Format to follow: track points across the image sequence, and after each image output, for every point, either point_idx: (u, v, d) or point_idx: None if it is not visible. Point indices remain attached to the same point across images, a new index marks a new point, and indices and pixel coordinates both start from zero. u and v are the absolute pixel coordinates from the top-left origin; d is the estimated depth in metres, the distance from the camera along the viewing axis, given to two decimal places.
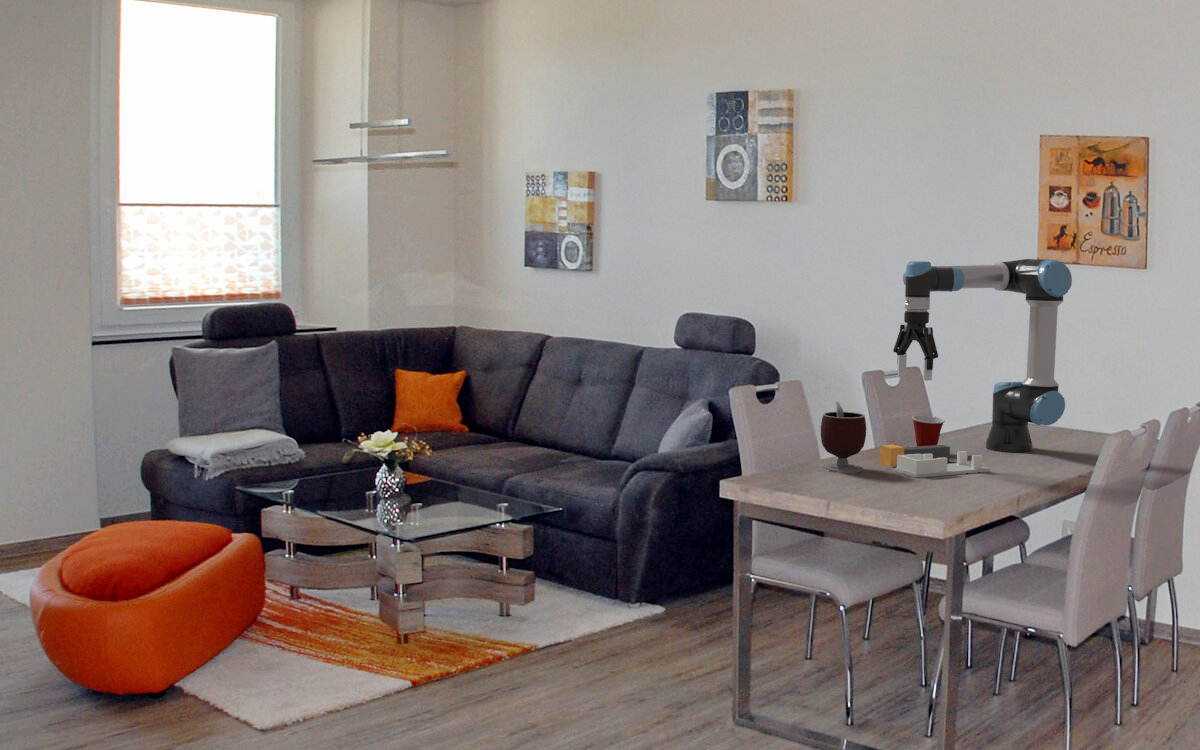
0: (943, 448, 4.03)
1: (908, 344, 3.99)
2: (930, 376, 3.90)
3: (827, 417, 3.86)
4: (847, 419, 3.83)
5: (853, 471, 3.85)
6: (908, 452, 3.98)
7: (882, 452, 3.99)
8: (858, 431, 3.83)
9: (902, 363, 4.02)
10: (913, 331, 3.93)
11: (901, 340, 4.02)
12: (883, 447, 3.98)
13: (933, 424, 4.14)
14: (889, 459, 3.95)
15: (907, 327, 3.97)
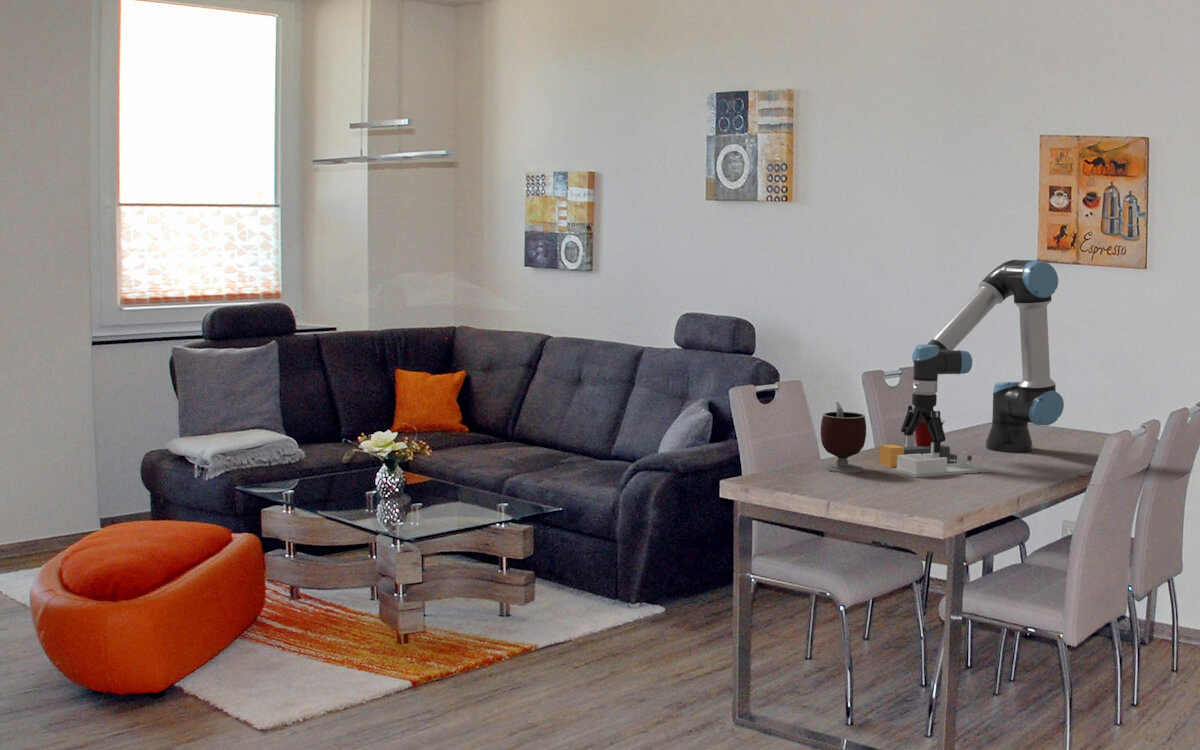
0: (943, 448, 4.03)
1: (915, 425, 4.05)
2: None
3: (827, 417, 3.86)
4: (847, 419, 3.83)
5: (853, 471, 3.85)
6: (908, 452, 3.98)
7: (882, 452, 3.99)
8: (858, 431, 3.83)
9: (909, 443, 4.08)
10: (921, 414, 3.99)
11: (909, 421, 4.08)
12: (883, 447, 3.98)
13: None
14: (889, 459, 3.95)
15: (915, 409, 4.03)
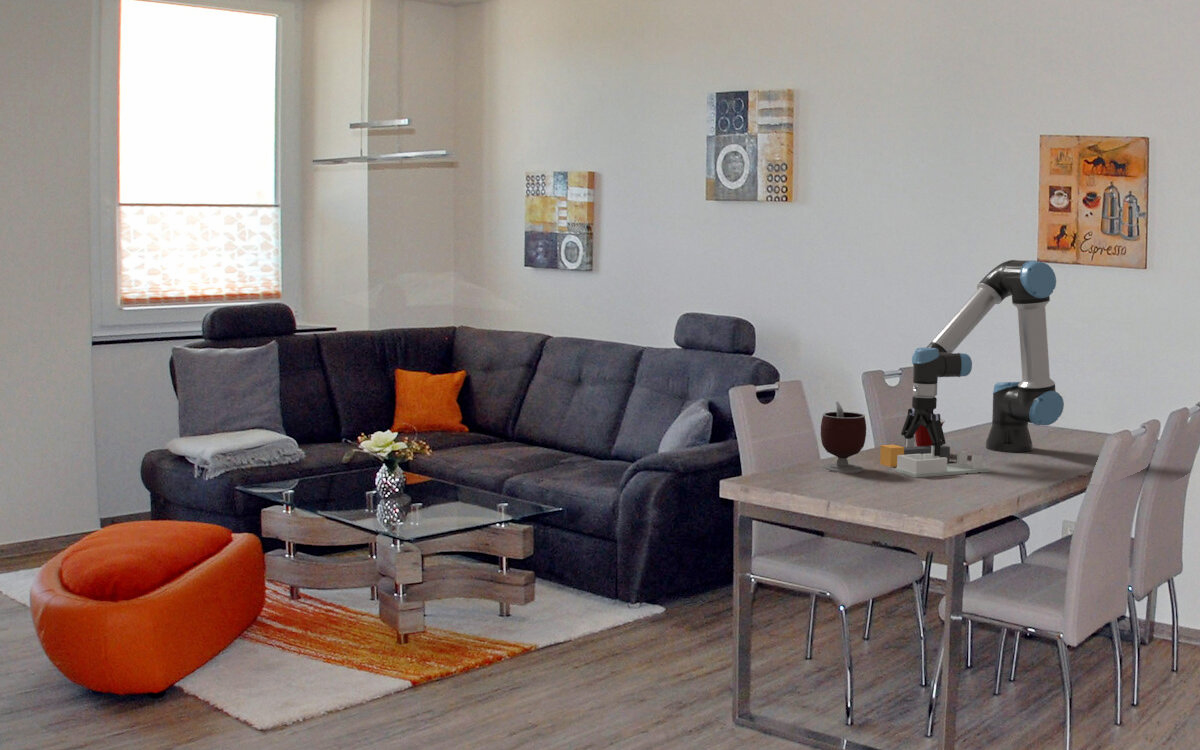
0: (943, 448, 4.03)
1: (915, 428, 4.05)
2: None
3: (827, 417, 3.86)
4: (847, 419, 3.83)
5: (853, 471, 3.85)
6: (908, 452, 3.98)
7: (882, 452, 3.99)
8: (858, 431, 3.83)
9: (910, 446, 4.08)
10: (921, 417, 3.99)
11: (909, 424, 4.08)
12: (883, 447, 3.98)
13: None
14: (890, 459, 3.95)
15: (915, 412, 4.03)
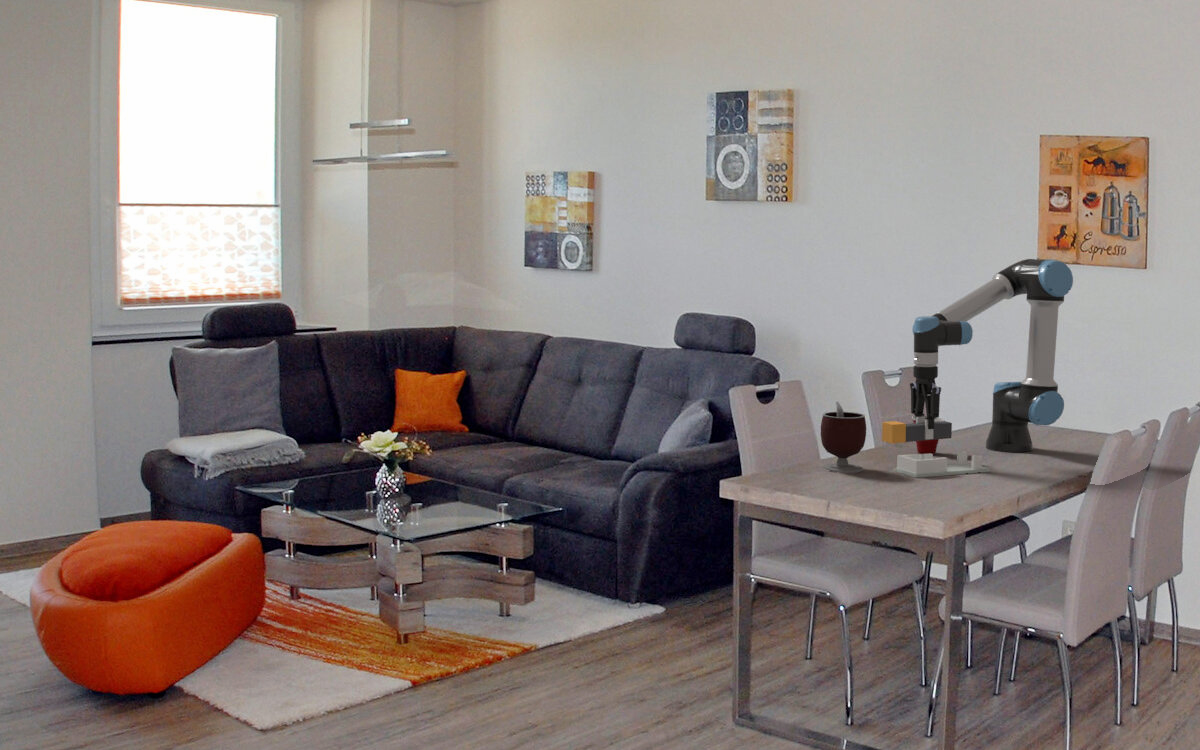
0: (945, 424, 4.02)
1: (922, 401, 4.02)
2: (931, 435, 3.99)
3: (827, 417, 3.86)
4: (847, 419, 3.83)
5: (853, 471, 3.85)
6: (910, 428, 3.97)
7: (884, 429, 3.98)
8: (858, 431, 3.83)
9: None
10: (922, 386, 3.98)
11: (915, 399, 4.04)
12: (885, 424, 3.97)
13: None
14: (891, 436, 3.94)
15: (916, 381, 4.02)
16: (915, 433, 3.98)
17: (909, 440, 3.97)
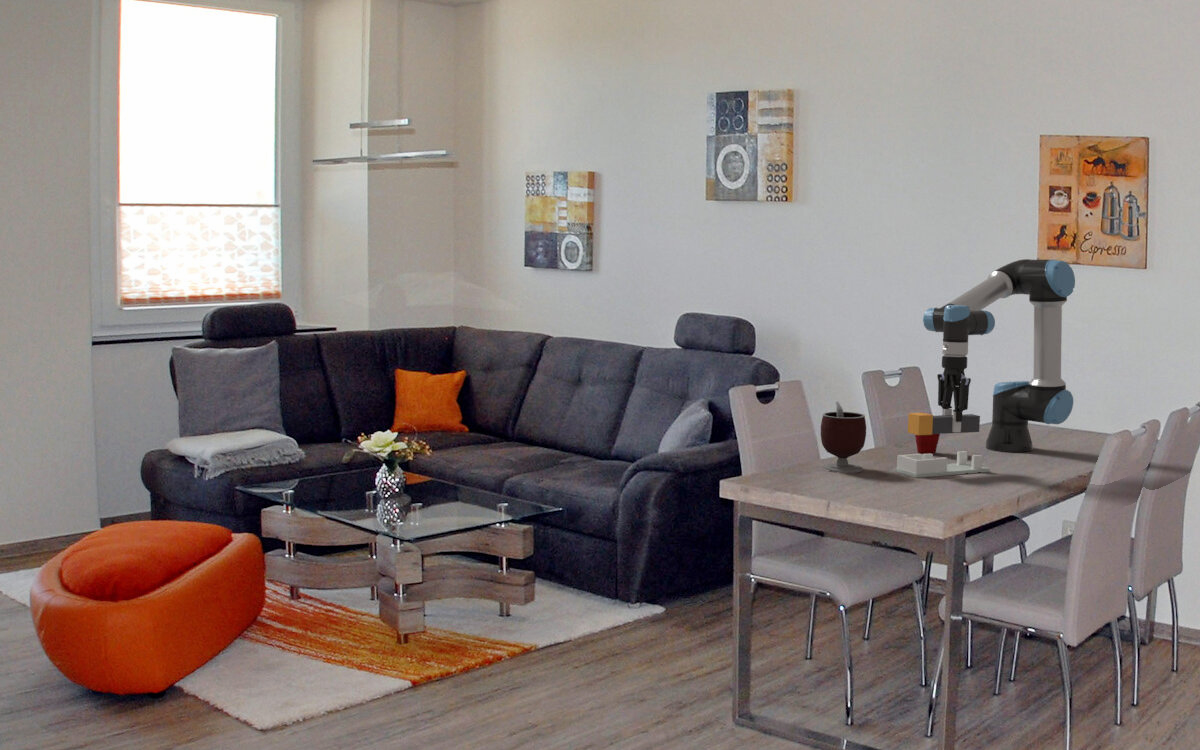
0: (973, 417, 3.88)
1: (950, 393, 3.88)
2: (959, 428, 3.85)
3: (827, 417, 3.86)
4: (847, 419, 3.83)
5: (853, 471, 3.85)
6: (937, 420, 3.83)
7: (910, 420, 3.84)
8: (858, 431, 3.83)
9: None
10: (951, 377, 3.84)
11: (943, 390, 3.90)
12: (911, 415, 3.83)
13: None
14: (918, 427, 3.80)
15: (944, 372, 3.88)
16: (942, 425, 3.84)
17: (936, 432, 3.83)
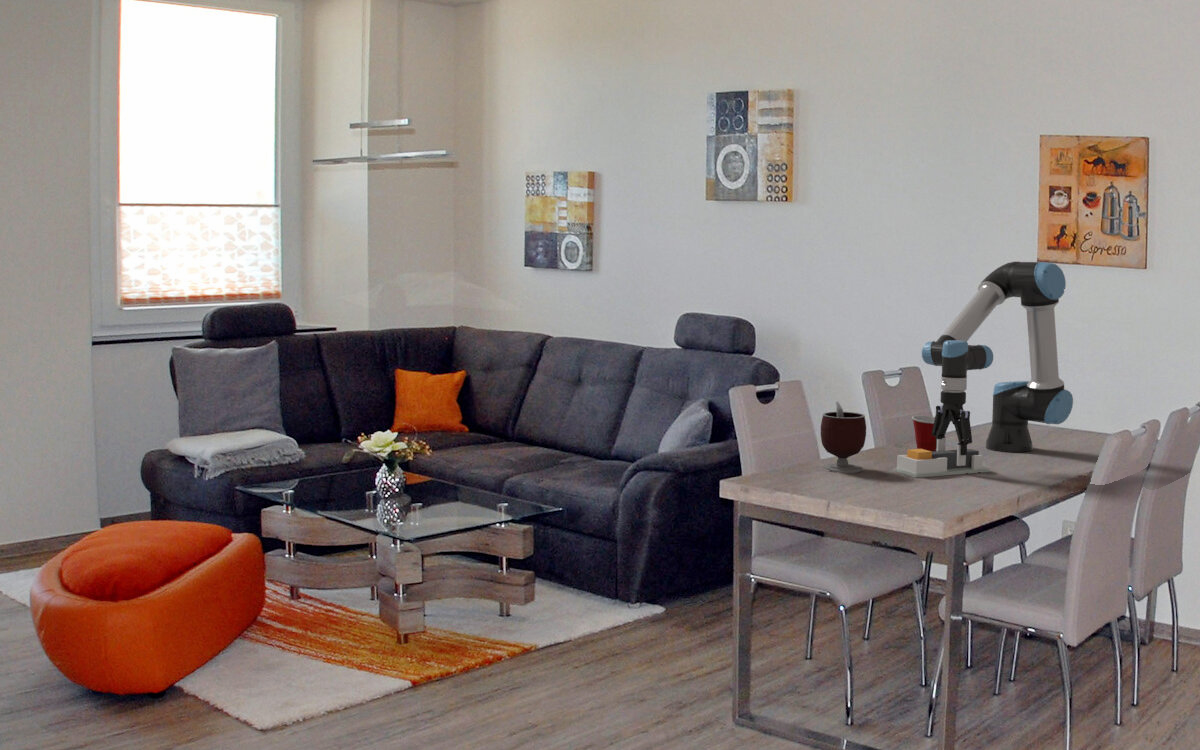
0: (972, 452, 3.89)
1: (945, 426, 3.91)
2: (964, 461, 3.84)
3: (827, 417, 3.86)
4: (847, 419, 3.83)
5: (853, 471, 3.85)
6: (936, 456, 3.84)
7: (909, 456, 3.85)
8: (858, 431, 3.83)
9: (941, 447, 3.93)
10: (950, 412, 3.85)
11: (938, 422, 3.93)
12: (910, 451, 3.84)
13: (933, 424, 4.14)
14: None
15: (943, 407, 3.89)
16: None
17: None
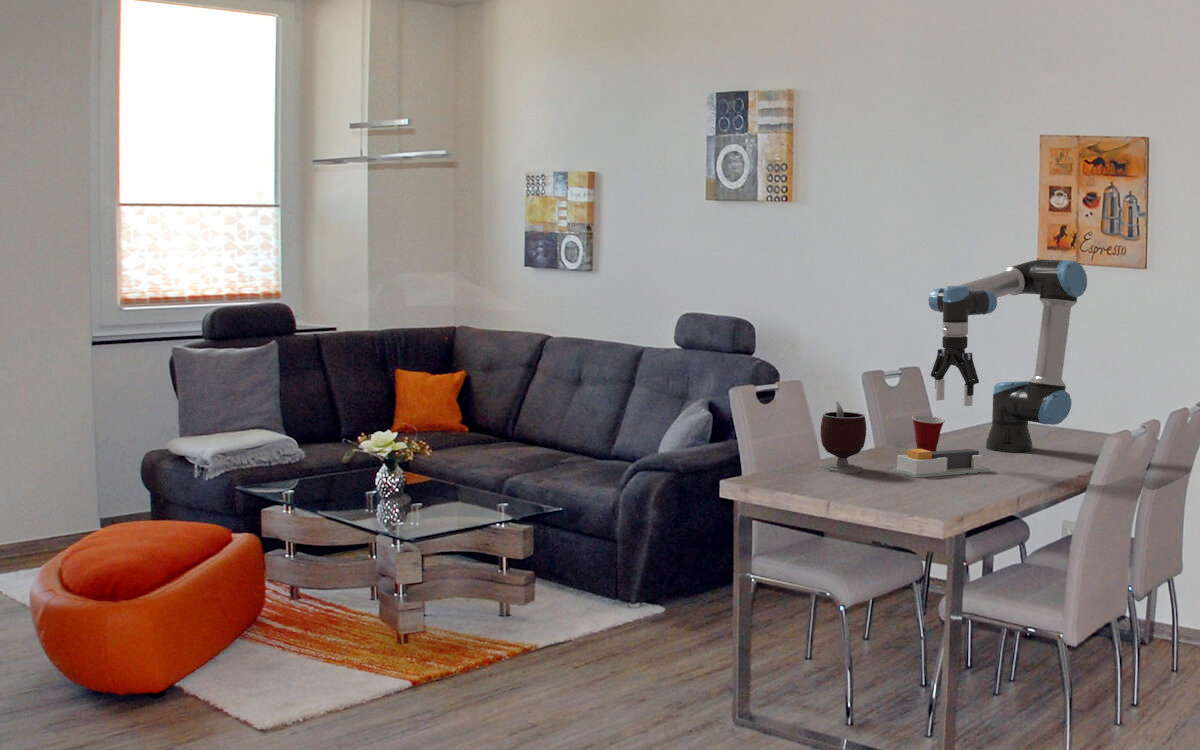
0: (972, 452, 3.89)
1: (946, 368, 3.97)
2: (971, 401, 3.87)
3: (827, 417, 3.86)
4: (847, 419, 3.83)
5: (853, 471, 3.85)
6: (936, 456, 3.84)
7: (909, 456, 3.85)
8: (858, 431, 3.83)
9: (940, 388, 3.99)
10: (952, 356, 3.90)
11: (939, 365, 3.99)
12: (910, 451, 3.84)
13: (933, 424, 4.14)
14: None
15: (945, 352, 3.94)
16: None
17: None
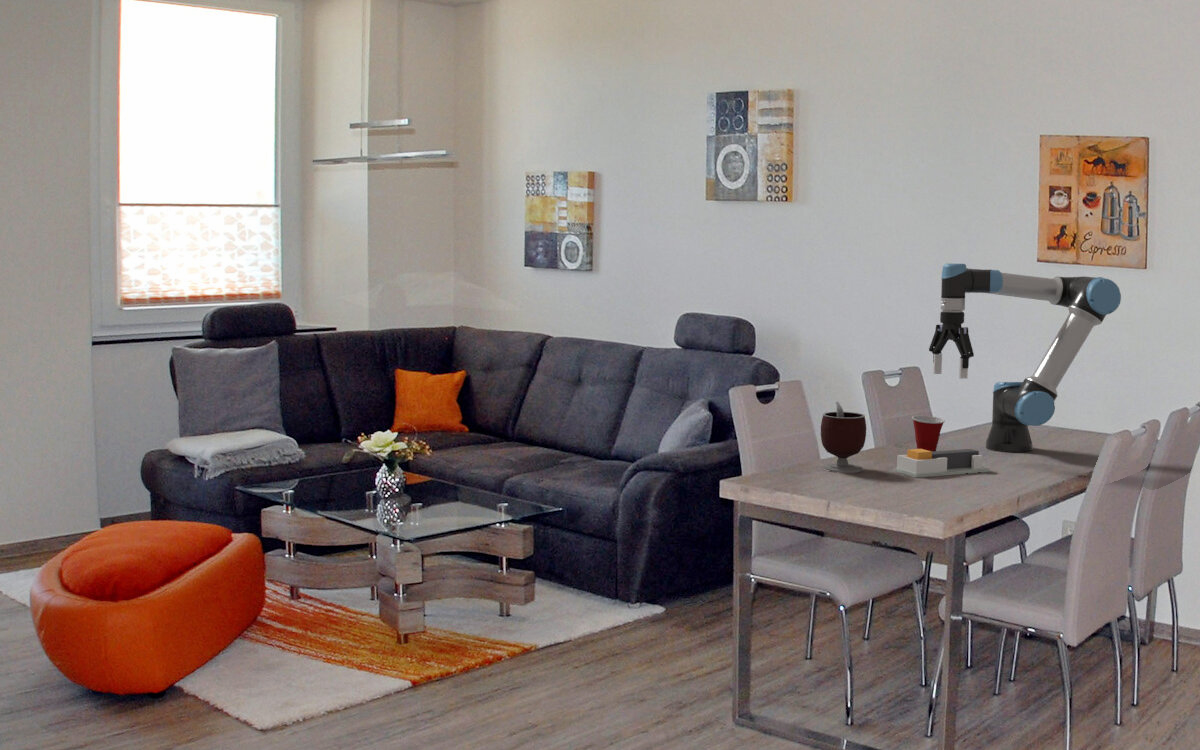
0: (972, 452, 3.89)
1: (943, 343, 4.13)
2: (966, 374, 4.04)
3: (827, 417, 3.86)
4: (847, 419, 3.83)
5: (853, 471, 3.85)
6: (936, 456, 3.84)
7: (909, 456, 3.85)
8: (858, 431, 3.83)
9: (938, 362, 4.16)
10: (949, 331, 4.06)
11: (937, 339, 4.15)
12: (910, 451, 3.84)
13: (933, 424, 4.14)
14: None
15: (943, 327, 4.11)
16: None
17: None
